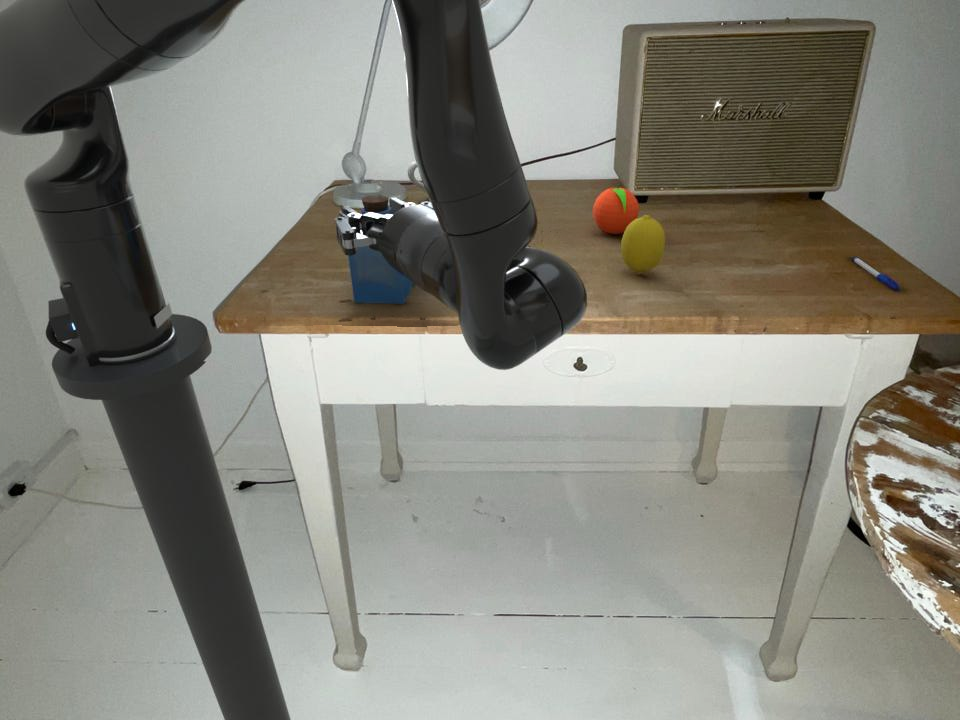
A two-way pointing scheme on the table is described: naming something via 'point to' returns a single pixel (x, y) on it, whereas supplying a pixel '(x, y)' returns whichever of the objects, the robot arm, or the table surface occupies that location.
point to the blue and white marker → (877, 274)
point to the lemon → (643, 244)
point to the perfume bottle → (376, 267)
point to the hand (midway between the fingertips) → (368, 210)
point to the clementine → (615, 210)
